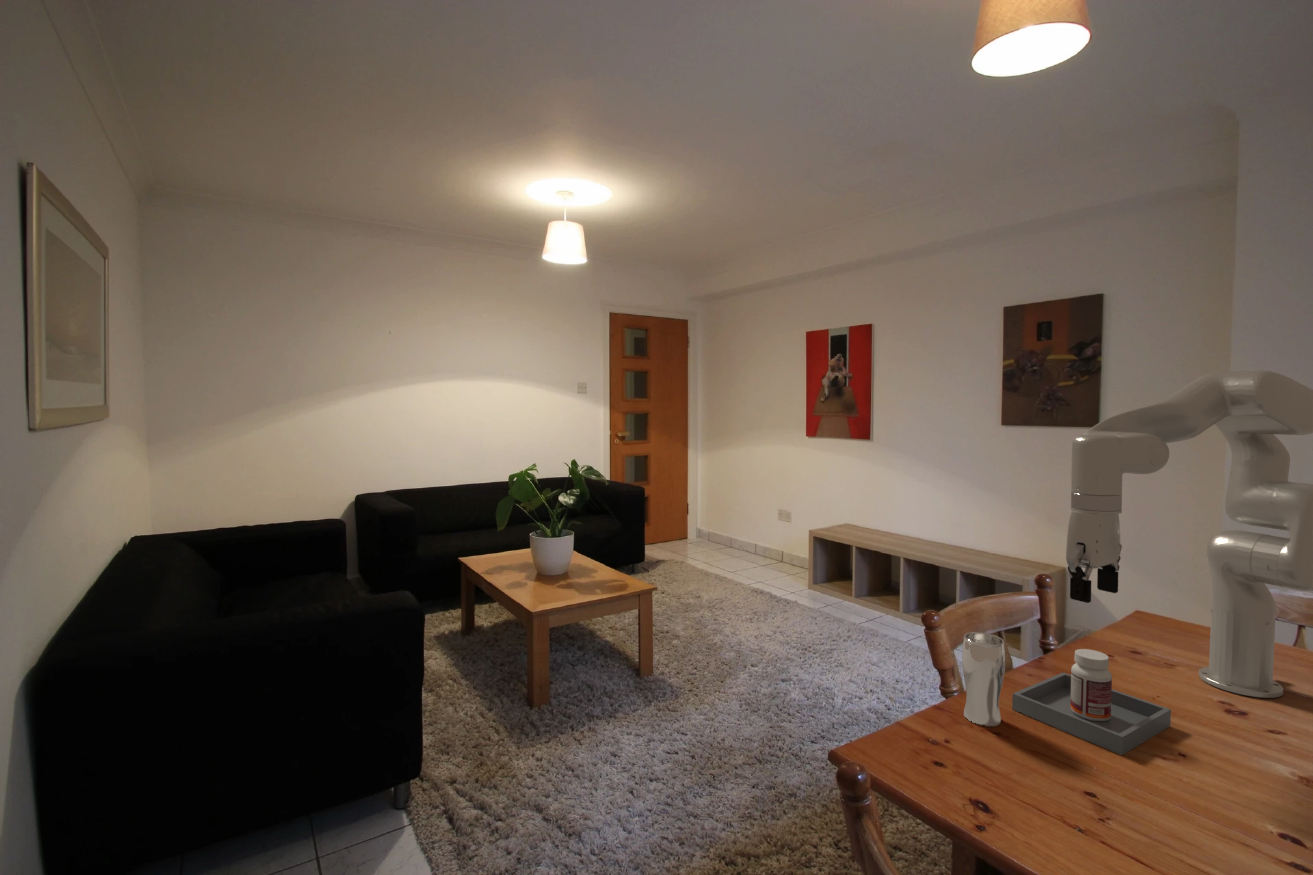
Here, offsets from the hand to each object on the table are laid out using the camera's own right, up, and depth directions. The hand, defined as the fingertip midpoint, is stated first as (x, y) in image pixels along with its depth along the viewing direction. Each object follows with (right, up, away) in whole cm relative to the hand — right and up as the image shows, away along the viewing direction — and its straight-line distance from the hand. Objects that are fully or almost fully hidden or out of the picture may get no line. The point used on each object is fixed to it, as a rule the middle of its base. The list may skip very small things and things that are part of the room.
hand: (1094, 595), depth 113 cm
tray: (0, -23, +1) cm, 23 cm away
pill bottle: (0, -22, +1) cm, 22 cm away
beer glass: (-20, -23, +1) cm, 30 cm away
